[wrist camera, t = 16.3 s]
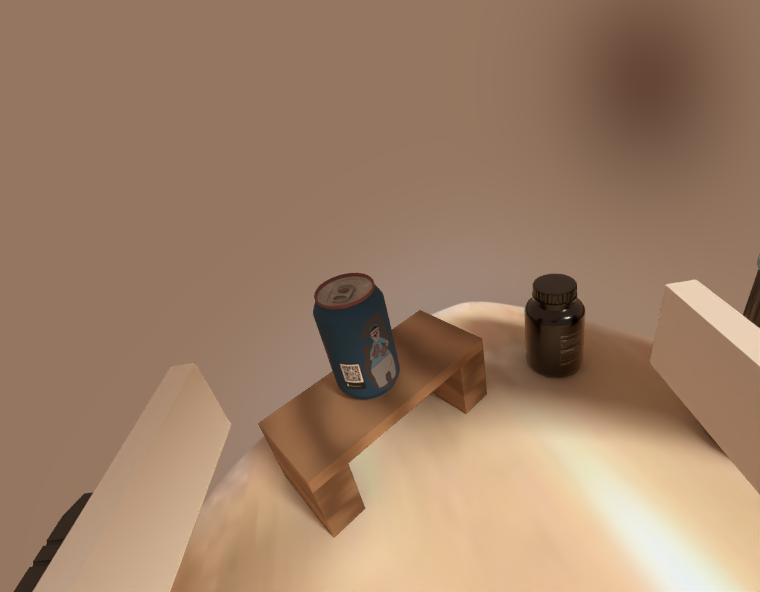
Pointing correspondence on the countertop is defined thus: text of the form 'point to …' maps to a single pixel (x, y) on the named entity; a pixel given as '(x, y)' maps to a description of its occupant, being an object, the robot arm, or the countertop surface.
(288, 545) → the countertop surface
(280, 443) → the bridge shelf
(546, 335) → the supplement bottle
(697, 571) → the countertop surface
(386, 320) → the soda can
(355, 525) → the countertop surface
